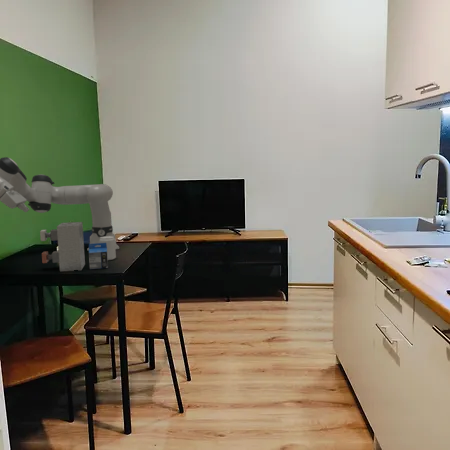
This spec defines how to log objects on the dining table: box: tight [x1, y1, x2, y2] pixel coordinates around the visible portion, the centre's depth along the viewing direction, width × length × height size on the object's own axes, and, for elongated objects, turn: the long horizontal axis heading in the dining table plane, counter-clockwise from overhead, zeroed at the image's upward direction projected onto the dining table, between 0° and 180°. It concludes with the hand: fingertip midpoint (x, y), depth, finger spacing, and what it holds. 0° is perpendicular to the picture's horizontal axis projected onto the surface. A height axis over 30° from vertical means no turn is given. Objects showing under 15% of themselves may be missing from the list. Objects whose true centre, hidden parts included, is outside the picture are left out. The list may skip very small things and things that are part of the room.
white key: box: [39, 229, 51, 242], centre depth 229 cm, size 5×6×5 cm
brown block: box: [41, 251, 52, 264], centre depth 230 cm, size 5×6×5 cm
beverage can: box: [100, 236, 117, 261], centre depth 251 cm, size 8×8×12 cm
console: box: [49, 221, 86, 272], centre depth 231 cm, size 14×14×22 cm
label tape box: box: [88, 243, 109, 270], centre depth 230 cm, size 9×4×12 cm, turn 104°
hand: (27, 211), depth 226 cm, fingers closed
